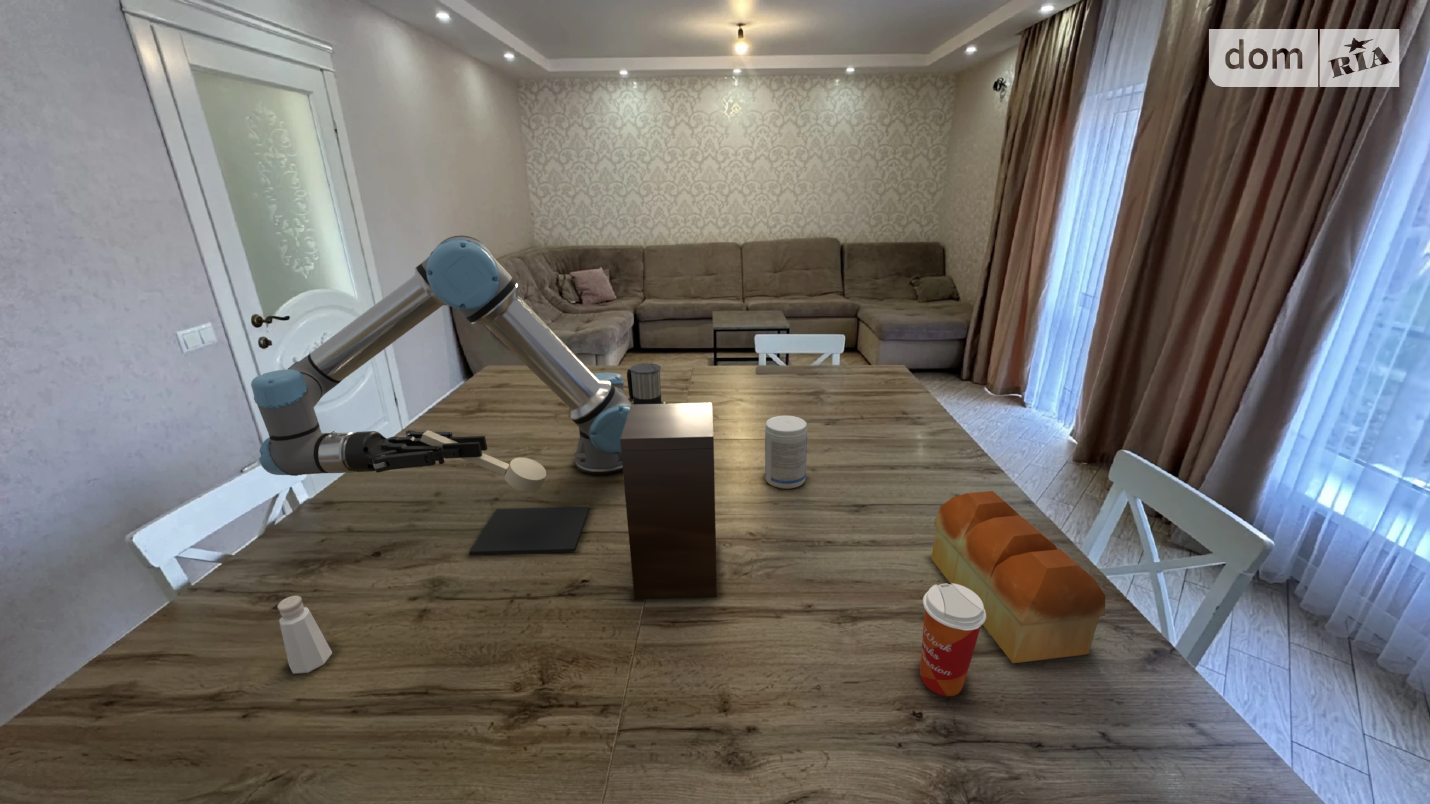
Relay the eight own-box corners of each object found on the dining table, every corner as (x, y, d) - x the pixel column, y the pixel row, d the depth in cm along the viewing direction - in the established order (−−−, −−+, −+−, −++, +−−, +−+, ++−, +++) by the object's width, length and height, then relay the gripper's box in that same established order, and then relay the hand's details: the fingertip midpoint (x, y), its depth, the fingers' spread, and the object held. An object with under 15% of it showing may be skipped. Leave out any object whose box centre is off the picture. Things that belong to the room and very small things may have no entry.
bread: (1092, 656, 80) (1117, 573, 75) (1012, 665, 79) (1032, 582, 73) (991, 551, 103) (1005, 482, 98) (928, 557, 102) (938, 488, 97)
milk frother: (669, 411, 171) (667, 365, 166) (636, 429, 159) (633, 380, 153) (634, 402, 178) (630, 359, 173) (600, 419, 166) (595, 372, 160)
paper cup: (903, 659, 80) (914, 582, 75) (954, 655, 81) (968, 578, 76) (927, 706, 73) (941, 624, 68) (982, 701, 74) (1000, 619, 68)
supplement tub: (813, 482, 128) (817, 425, 123) (782, 494, 124) (784, 435, 118) (786, 466, 136) (788, 411, 131) (756, 477, 131) (756, 420, 126)
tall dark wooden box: (642, 548, 106) (631, 404, 95) (715, 546, 106) (712, 402, 95) (634, 599, 93) (619, 438, 82) (717, 596, 93) (713, 436, 82)
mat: (497, 512, 119) (496, 508, 119) (589, 509, 119) (589, 506, 119) (469, 555, 105) (469, 551, 105) (574, 552, 106) (574, 548, 105)
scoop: (431, 431, 105) (436, 418, 104) (544, 479, 109) (550, 467, 108) (413, 447, 98) (418, 433, 97) (535, 497, 103) (541, 484, 102)
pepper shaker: (341, 650, 84) (321, 592, 80) (306, 679, 79) (283, 618, 75) (315, 642, 85) (294, 585, 81) (280, 669, 81) (255, 610, 77)
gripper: (324, 451, 94) (462, 445, 94) (372, 417, 108) (493, 412, 108) (336, 490, 97) (471, 484, 97) (382, 452, 111) (500, 446, 111)
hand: (482, 446), depth 103 cm, fingers closed on scoop, 2 cm apart
